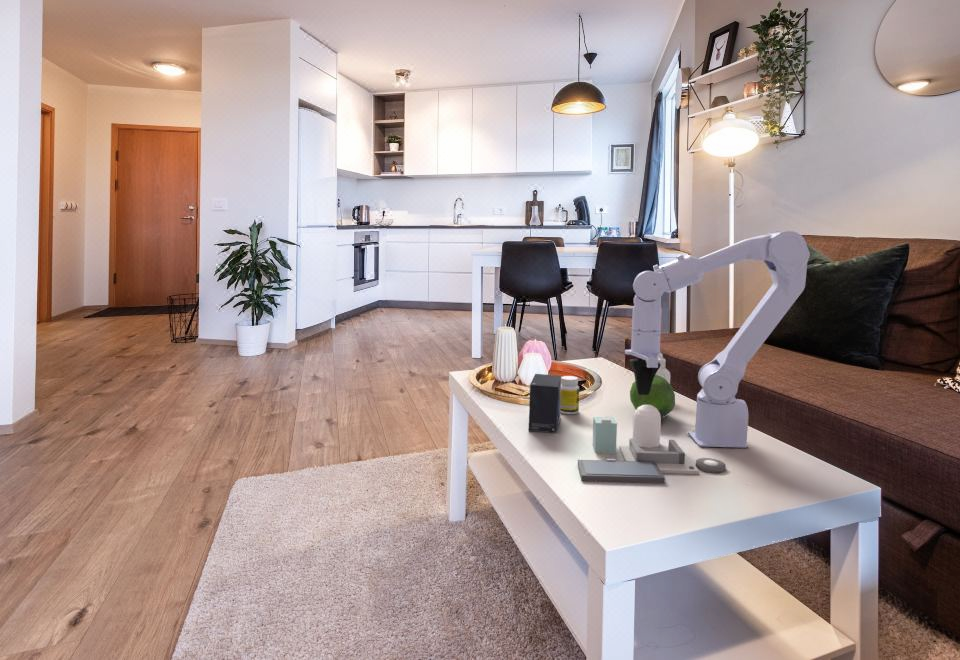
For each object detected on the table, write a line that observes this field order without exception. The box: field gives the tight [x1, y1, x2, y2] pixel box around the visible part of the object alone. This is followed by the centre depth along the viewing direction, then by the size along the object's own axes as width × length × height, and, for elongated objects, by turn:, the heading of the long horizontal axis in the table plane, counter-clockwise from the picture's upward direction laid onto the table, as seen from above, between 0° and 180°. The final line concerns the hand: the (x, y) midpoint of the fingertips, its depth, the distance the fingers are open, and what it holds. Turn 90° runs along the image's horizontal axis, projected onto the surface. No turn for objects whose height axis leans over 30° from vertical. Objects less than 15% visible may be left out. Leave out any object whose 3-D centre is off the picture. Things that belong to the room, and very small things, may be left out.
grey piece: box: [618, 438, 700, 475], centre depth 107 cm, size 12×12×2 cm
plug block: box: [592, 416, 618, 454], centre depth 112 cm, size 4×4×7 cm
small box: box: [528, 373, 562, 434], centre depth 127 cm, size 11×6×10 cm, turn 168°
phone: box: [577, 458, 666, 484], centre depth 101 cm, size 14×7×1 cm, turn 86°
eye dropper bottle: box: [655, 353, 671, 385], centre depth 146 cm, size 4×6×12 cm
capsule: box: [632, 405, 662, 449], centre depth 116 cm, size 5×5×8 cm
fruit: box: [629, 375, 676, 418], centre depth 134 cm, size 15×10×10 cm, turn 172°
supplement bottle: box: [560, 375, 580, 415], centre depth 136 cm, size 5×5×8 cm
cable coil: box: [695, 457, 727, 474], centre depth 104 cm, size 5×5×1 cm
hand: (643, 394), depth 119 cm, fingers closed
